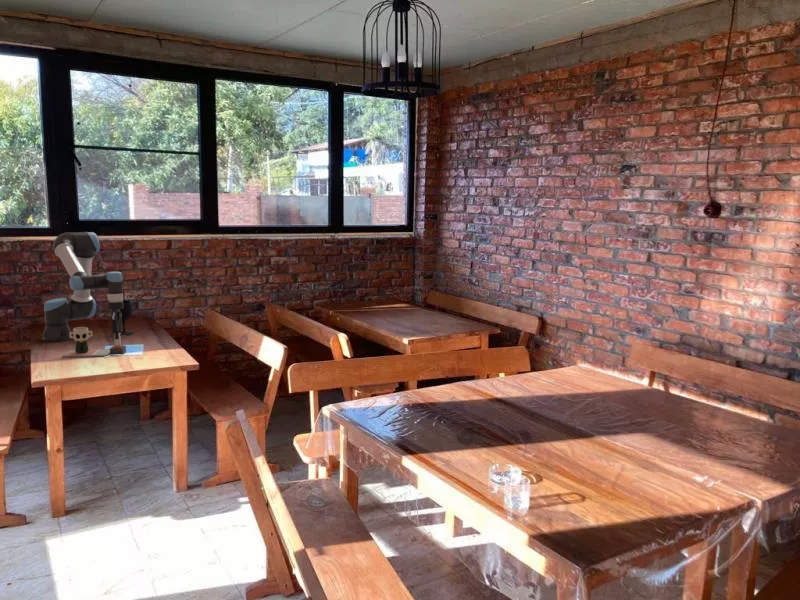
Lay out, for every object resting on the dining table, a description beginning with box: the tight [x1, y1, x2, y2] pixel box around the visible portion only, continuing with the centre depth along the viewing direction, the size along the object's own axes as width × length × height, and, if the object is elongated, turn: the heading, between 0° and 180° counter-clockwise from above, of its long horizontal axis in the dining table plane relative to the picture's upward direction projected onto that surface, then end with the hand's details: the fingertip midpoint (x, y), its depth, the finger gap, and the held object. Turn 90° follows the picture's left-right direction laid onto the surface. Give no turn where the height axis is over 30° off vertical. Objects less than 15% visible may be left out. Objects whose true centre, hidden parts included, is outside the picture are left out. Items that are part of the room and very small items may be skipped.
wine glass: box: [120, 300, 134, 336], centre depth 389 cm, size 10×10×20 cm
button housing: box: [109, 345, 127, 355], centre depth 341 cm, size 6×6×4 cm
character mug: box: [69, 326, 93, 353], centre depth 338 cm, size 11×7×13 cm, turn 116°
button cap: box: [113, 343, 123, 348], centre depth 341 cm, size 3×3×3 cm
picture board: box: [61, 348, 110, 359], centre depth 339 cm, size 15×22×1 cm
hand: (117, 344), depth 341 cm, fingers closed
